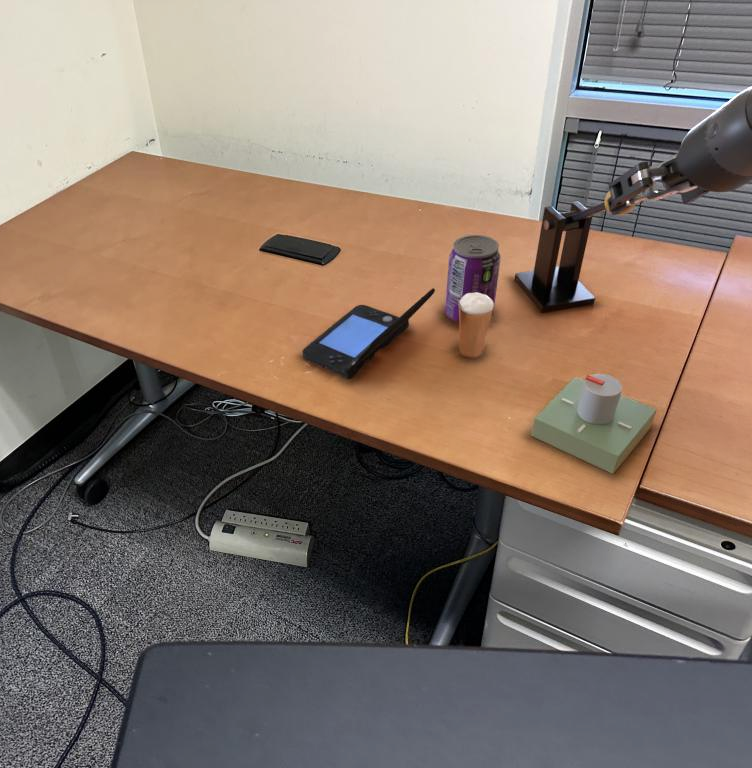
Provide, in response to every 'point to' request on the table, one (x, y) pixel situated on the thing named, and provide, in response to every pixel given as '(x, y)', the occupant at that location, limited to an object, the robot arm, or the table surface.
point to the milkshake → (474, 323)
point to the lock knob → (599, 399)
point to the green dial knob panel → (592, 428)
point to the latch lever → (587, 214)
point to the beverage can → (471, 271)
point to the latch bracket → (559, 283)
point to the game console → (358, 338)
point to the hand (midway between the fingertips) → (648, 201)
